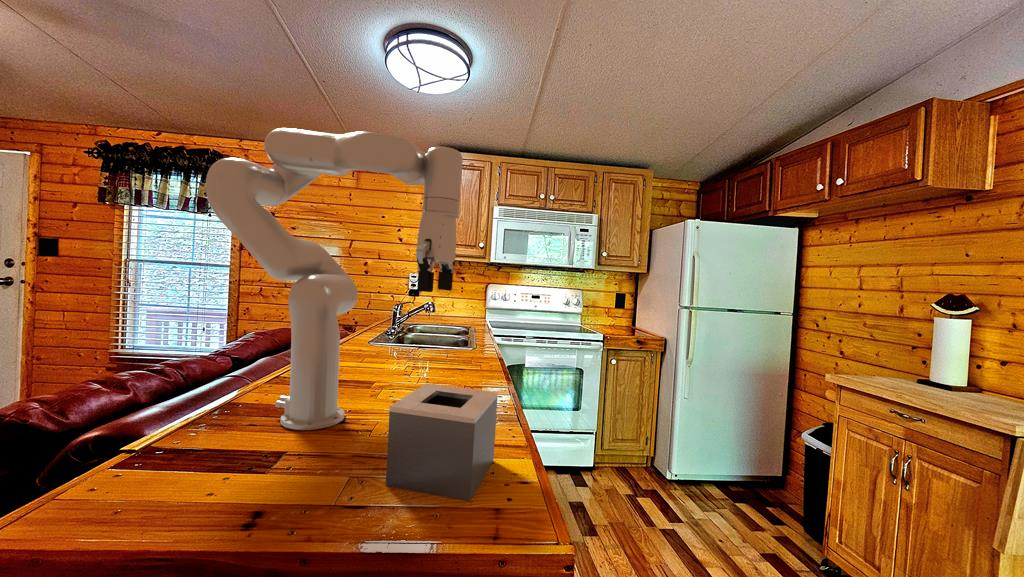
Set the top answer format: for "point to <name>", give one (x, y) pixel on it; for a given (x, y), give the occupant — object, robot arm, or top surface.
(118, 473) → the top surface
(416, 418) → the box
